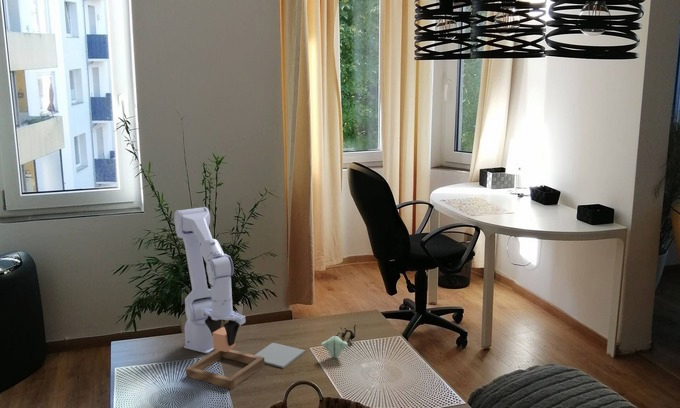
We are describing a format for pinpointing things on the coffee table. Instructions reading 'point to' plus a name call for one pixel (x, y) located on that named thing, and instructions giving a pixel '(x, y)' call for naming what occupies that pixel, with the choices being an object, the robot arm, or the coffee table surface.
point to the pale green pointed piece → (334, 346)
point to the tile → (279, 354)
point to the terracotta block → (221, 340)
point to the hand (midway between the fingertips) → (224, 342)
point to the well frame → (228, 382)
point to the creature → (346, 333)
